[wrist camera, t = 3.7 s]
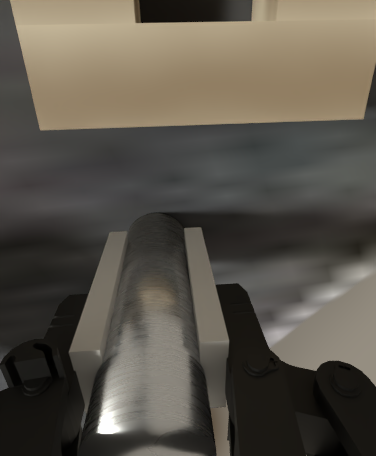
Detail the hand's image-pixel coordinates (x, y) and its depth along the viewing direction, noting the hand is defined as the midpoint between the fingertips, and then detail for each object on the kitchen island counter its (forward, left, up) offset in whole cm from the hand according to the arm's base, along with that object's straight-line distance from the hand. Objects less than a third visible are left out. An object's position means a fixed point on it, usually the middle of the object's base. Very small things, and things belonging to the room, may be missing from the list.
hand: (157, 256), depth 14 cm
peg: (0, 0, -2) cm, 2 cm away
